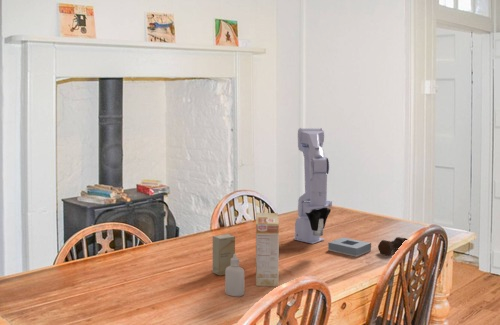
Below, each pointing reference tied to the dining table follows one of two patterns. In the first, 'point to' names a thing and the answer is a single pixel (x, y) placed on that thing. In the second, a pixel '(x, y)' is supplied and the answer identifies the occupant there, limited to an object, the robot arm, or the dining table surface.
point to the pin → (319, 228)
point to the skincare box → (222, 252)
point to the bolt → (390, 245)
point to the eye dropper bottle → (234, 278)
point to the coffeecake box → (267, 249)
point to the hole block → (349, 246)
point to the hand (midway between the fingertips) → (317, 229)
